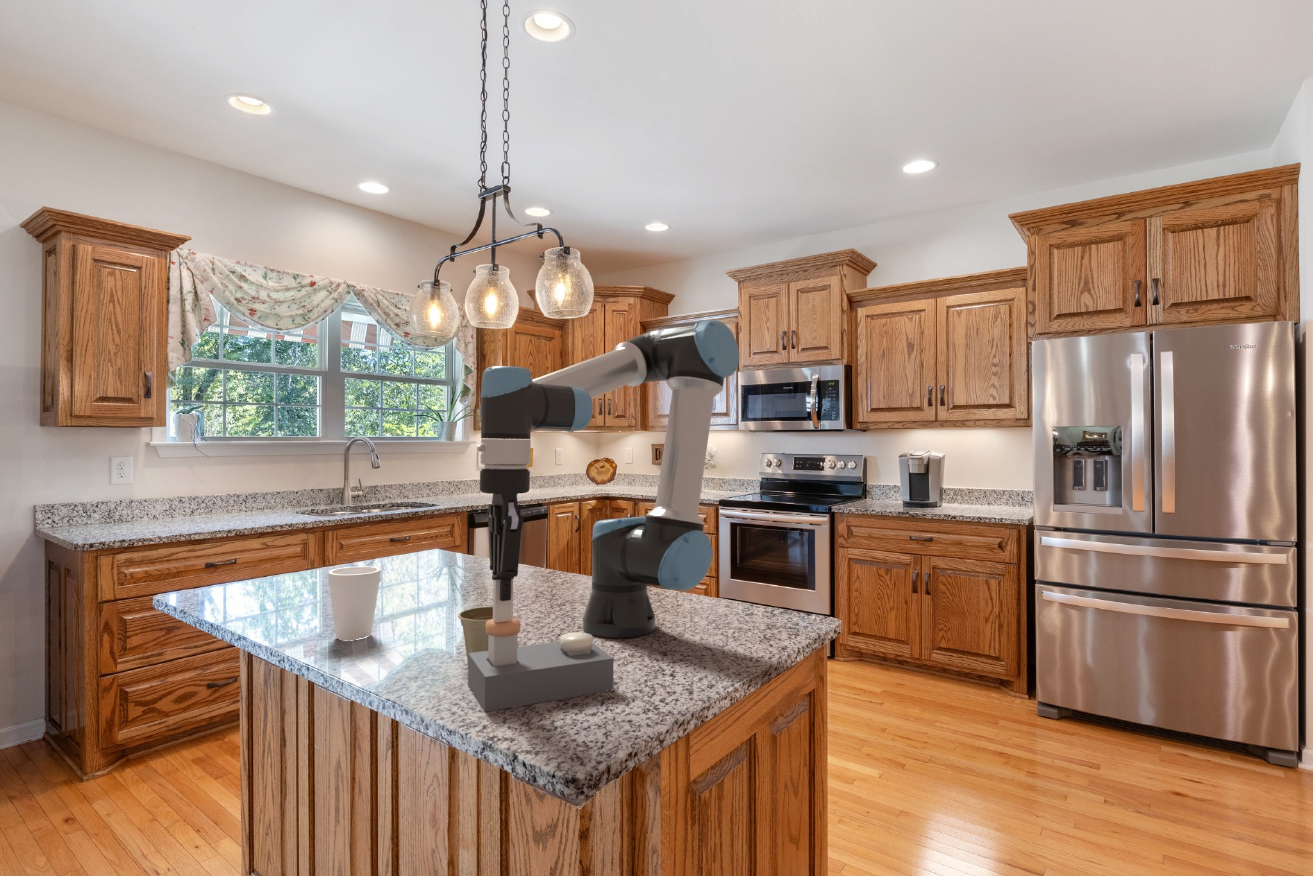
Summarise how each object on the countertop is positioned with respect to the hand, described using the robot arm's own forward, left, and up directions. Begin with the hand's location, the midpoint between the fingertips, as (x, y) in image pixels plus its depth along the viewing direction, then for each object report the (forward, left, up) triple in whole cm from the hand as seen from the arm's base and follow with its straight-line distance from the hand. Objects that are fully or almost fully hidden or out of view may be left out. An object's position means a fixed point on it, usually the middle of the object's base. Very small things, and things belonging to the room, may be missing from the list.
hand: (502, 620), depth 104 cm
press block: (-6, 0, -11) cm, 13 cm away
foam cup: (+19, -42, -12) cm, 47 cm away
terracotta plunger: (0, 0, -7) cm, 7 cm away
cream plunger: (-12, 0, -11) cm, 16 cm away
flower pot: (-1, -16, -12) cm, 20 cm away
